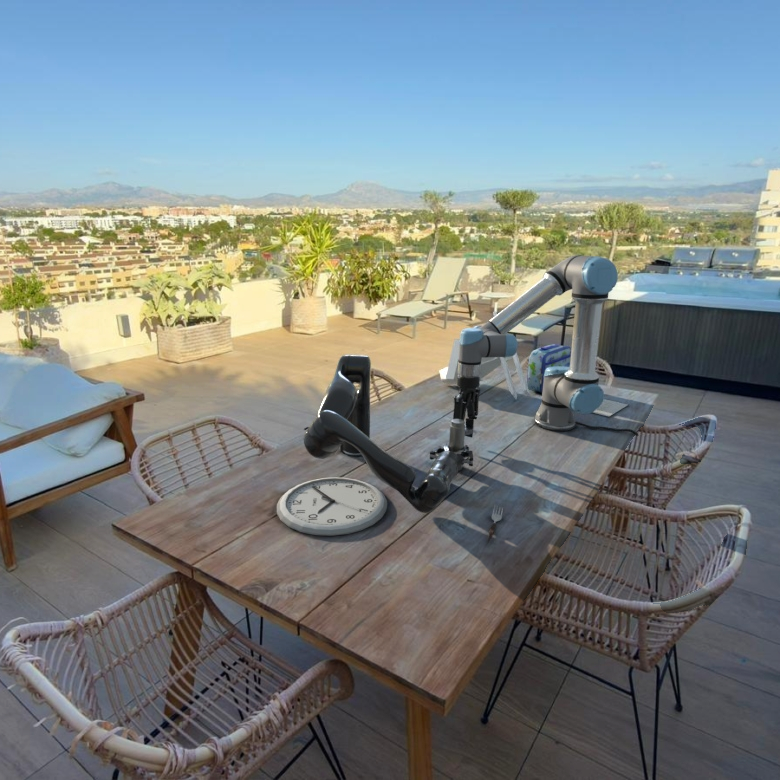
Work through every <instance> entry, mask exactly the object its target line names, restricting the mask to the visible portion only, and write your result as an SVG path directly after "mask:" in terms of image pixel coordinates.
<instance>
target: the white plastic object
mask: <svg viewBox="0 0 780 780" xmlns="http://www.w3.org/2000/svg"><path fill="white" fill-rule="evenodd" d="M497 314H498V312H497V311H496V310H495V311H492V315H493V317H495V316H496V315H497ZM459 341H460V338H459V339H458V338H454V340H453V344H452V349H451V353H450V357H449V362H448V366H446V367H444V368H442V369H440V370H439V371H438V372H439V376H440V381H442V383H443V384H444V385H445V386H449V385H457V376H458V363H459V362H458V361H459ZM510 360H513V363H514V366H515V369H516V372H517V376H518V380H519V382H520V385H521V389H522V391H523V393H524V395H525V396H526V397H528V396H531V395H530V390H529V389H528V387H527V380H526V378H525V375H524V371H523V369H522V368H523V367H522V366H521V362H520V359H519V355H518V352H517V351H516V353H515V355H514V356H510V357H482V359H481V371H480V375H479V377H480V382H482V381H484V378H485V377H486V376H487V375H489V374H490V373H492V372H494V371H495V370H496V369H497V368H499V367H500V366H502V370H503V373H504V376H505V380H506V383H507V386H508V390H509V393H510V394H511V395H512V397H513V398H514V399H515V400H517V392H516V391H517V390H516V388H515V385H514V381H513V378H512V375H511V371H510V369H509V365H508V361H510Z"/></svg>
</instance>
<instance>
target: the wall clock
mask: <svg viewBox="0 0 780 780" xmlns="http://www.w3.org/2000/svg"><path fill="white" fill-rule="evenodd" d="M387 509H388V500H387V498H386V496H385V494H384V493H383V492H382V491H381V490H380V489H379V488H377V487H376V486H374V485H372V484H371V483H369V482H365V481H362V480H359V479H355V478H349V477H338V476H337V477H335V476H333V477H332V476H331V477H322V478H317V479H312V480H307V481H305V482H302V483H299V484H297V485H295V486H293V487H292V488H290V489H288V490H287V491H286V492H285V493H284V494H283V495H281V496H280V498H279V499H278V502H277V503H276V515H277V517H278V518H279V520H280V521H281V522H282V523H283V524H285V525H286V526H287V527H288V528H290V529H293V530H295V531H297V532H299V533H303V534H308V535H312V536H327V537H328V536H329V537H331V536H332V537H333V536H342V535H350V534H352V533H356V532H361V531H363V530H366V529H368V528H369V527H372V526H373V525H375V524H376V523H378V522H379V521H380V520H381V519H382V518H383V517H384V516H385V514H386V512H387Z"/></svg>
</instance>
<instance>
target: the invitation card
mask: <svg viewBox="0 0 780 780" xmlns="http://www.w3.org/2000/svg"><path fill="white" fill-rule="evenodd" d="M628 406H629V404H627V403H623V402H618V401H614V400H609V399H605V398H604V399H603V402H602V404H601V405H600V406H599V408H597V409H596V410H595V411H594V412H592V413H593V414H596V415H600V416H604V417H608V418H609V417H611V416H613V415H614V414H616V413H617V412H619V411H621V410H623V409H624V408H626V407H628Z"/></svg>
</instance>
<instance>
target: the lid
mask: <svg viewBox="0 0 780 780" xmlns="http://www.w3.org/2000/svg"><path fill="white" fill-rule="evenodd" d="M464 425H465V435H470V434H472V433H473V434H474V426H473V427H472V426H470V425H466V424H464Z"/></svg>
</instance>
